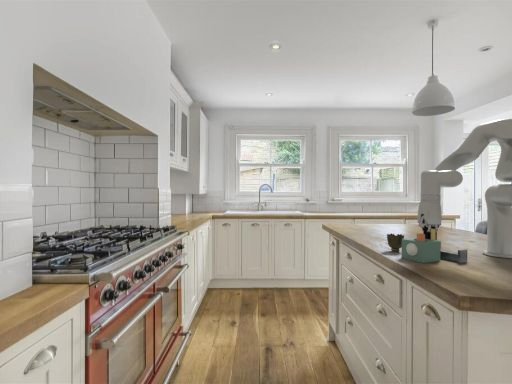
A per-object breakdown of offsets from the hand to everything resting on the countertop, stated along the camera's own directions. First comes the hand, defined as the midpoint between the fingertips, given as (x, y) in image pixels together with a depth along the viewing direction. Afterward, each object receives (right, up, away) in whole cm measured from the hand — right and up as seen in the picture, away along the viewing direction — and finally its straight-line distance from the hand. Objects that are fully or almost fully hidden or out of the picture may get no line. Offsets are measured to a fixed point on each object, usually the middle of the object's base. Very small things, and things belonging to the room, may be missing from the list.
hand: (429, 240), depth 131 cm
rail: (+2, -7, -4) cm, 8 cm away
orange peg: (-9, -4, -8) cm, 12 cm away
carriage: (0, -7, 0) cm, 7 cm away
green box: (-9, -7, -8) cm, 13 cm away
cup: (-11, -7, +8) cm, 16 cm away
